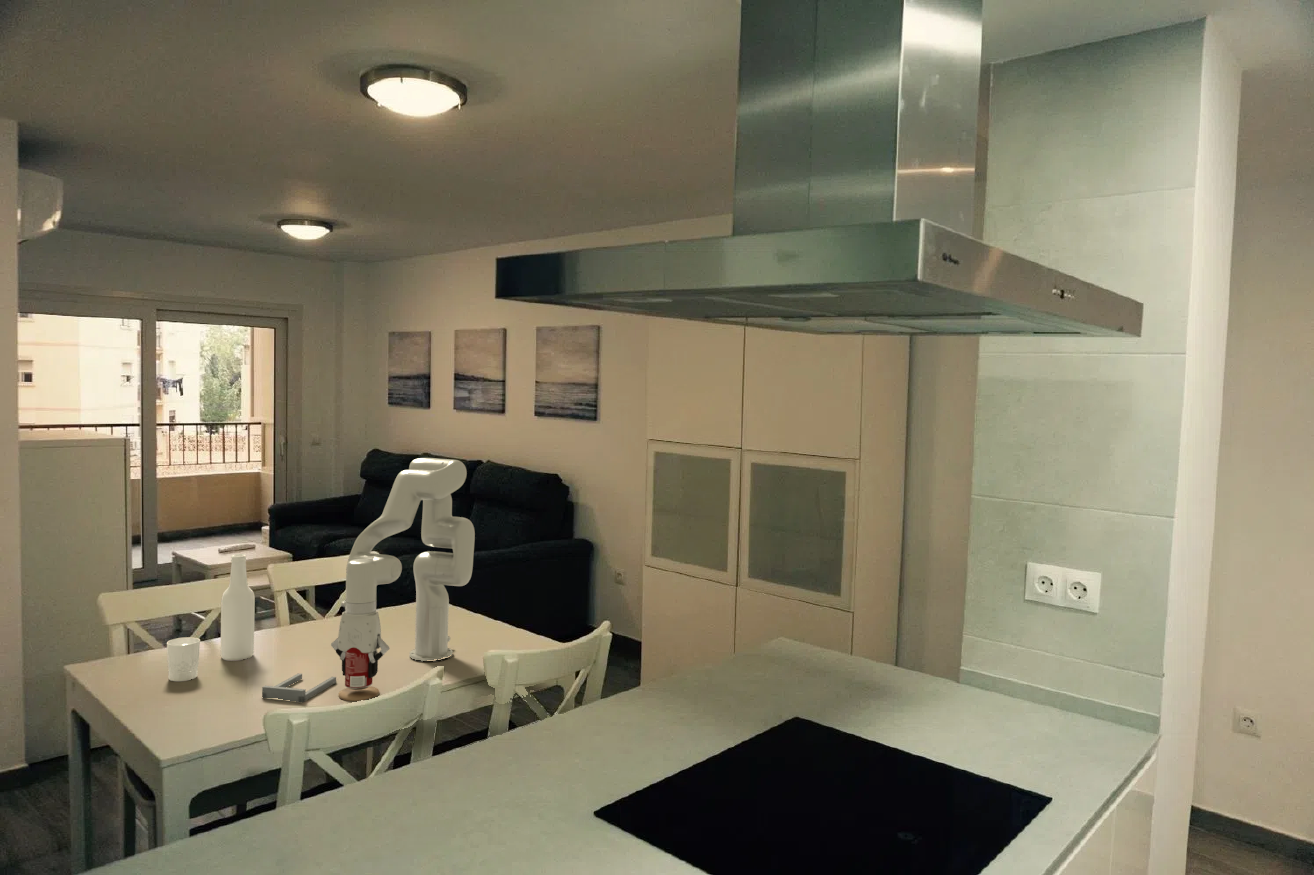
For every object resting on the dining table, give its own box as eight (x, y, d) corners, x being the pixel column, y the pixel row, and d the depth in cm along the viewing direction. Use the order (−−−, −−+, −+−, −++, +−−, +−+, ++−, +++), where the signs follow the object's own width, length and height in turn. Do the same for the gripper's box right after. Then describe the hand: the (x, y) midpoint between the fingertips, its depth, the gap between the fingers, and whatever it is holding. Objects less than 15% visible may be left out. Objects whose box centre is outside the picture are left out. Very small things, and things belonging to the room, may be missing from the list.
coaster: (350, 686, 230) (350, 684, 230) (385, 689, 228) (385, 687, 228) (330, 699, 220) (330, 696, 220) (367, 702, 218) (367, 700, 218)
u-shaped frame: (298, 678, 234) (298, 667, 234) (336, 682, 233) (336, 671, 233) (262, 698, 219) (262, 686, 219) (302, 702, 217) (302, 690, 217)
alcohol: (213, 659, 249) (214, 556, 247) (235, 651, 257) (237, 551, 256) (238, 662, 246) (240, 559, 245) (260, 654, 255) (262, 553, 253)
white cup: (165, 683, 227) (166, 646, 226) (166, 675, 234) (167, 638, 233) (199, 680, 231) (199, 643, 230) (199, 671, 237) (200, 635, 237)
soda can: (366, 691, 221) (367, 645, 220) (340, 690, 221) (341, 644, 220) (376, 683, 227) (376, 638, 227) (350, 682, 228) (351, 637, 227)
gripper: (322, 608, 221) (321, 676, 222) (385, 613, 218) (383, 682, 219) (337, 601, 228) (336, 668, 229) (398, 606, 226) (397, 673, 226)
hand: (359, 674), depth 224 cm, fingers closed on soda can, 6 cm apart
